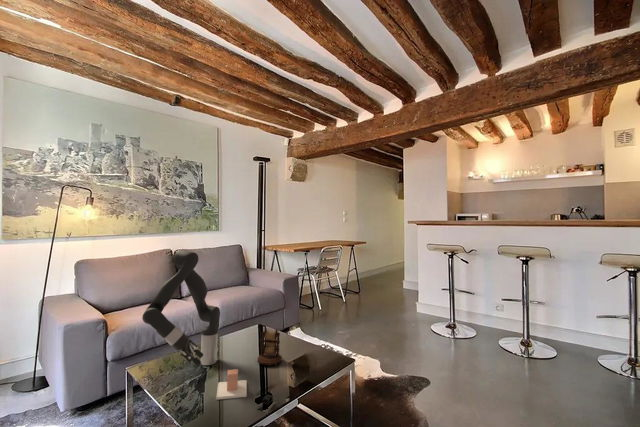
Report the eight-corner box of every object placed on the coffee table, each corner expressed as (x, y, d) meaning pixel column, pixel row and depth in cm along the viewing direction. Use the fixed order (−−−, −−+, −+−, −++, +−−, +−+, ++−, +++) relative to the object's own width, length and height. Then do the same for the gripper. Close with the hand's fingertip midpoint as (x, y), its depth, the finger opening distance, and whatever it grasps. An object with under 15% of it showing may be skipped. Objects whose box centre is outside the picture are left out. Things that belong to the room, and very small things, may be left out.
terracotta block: (227, 385, 158) (227, 370, 159) (237, 384, 160) (237, 369, 160) (226, 391, 153) (227, 374, 154) (237, 390, 155) (237, 373, 155)
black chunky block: (266, 416, 137) (266, 406, 137) (252, 411, 140) (253, 401, 140) (281, 402, 148) (281, 392, 149) (268, 398, 152) (268, 388, 152)
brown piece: (284, 357, 196) (285, 325, 197) (278, 368, 181) (279, 334, 182) (261, 356, 198) (262, 324, 198) (254, 366, 183) (255, 332, 184)
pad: (218, 384, 162) (218, 382, 162) (246, 382, 165) (246, 379, 165) (216, 399, 148) (216, 397, 148) (246, 396, 151) (246, 394, 151)
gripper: (179, 338, 145) (205, 360, 148) (185, 327, 159) (208, 348, 162) (167, 350, 144) (192, 373, 147) (173, 338, 158) (197, 359, 161)
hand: (201, 360), depth 154 cm, fingers open, 8 cm apart
